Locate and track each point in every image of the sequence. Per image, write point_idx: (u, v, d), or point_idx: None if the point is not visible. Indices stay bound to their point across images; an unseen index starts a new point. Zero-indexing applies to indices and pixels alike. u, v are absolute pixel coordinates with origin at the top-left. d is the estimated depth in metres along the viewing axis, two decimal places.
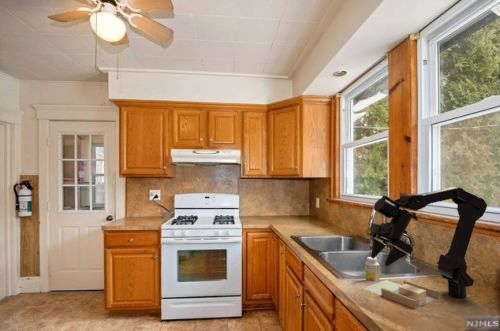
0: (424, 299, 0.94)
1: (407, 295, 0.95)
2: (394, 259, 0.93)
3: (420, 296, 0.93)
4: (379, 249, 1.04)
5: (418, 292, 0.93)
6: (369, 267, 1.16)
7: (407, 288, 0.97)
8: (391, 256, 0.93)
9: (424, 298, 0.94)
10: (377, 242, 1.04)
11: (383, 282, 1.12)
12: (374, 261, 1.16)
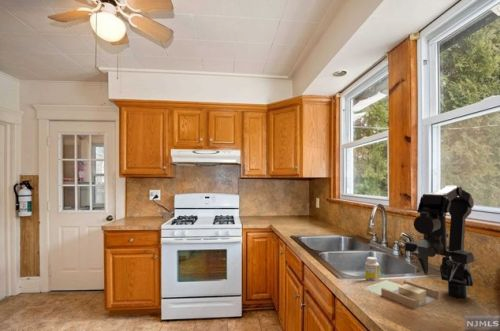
0: (424, 299, 0.94)
1: (407, 295, 0.95)
2: (454, 270, 0.86)
3: (420, 296, 0.93)
4: (426, 261, 0.94)
5: (418, 292, 0.93)
6: (369, 267, 1.16)
7: (407, 288, 0.97)
8: (452, 270, 0.85)
9: (424, 298, 0.94)
10: (423, 256, 0.93)
11: (383, 282, 1.12)
12: (374, 261, 1.16)
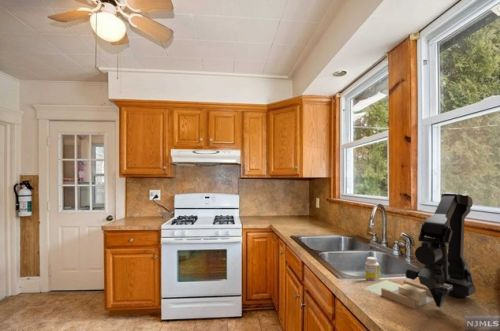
0: (424, 299, 0.94)
1: (407, 295, 0.95)
2: (444, 297, 0.89)
3: (420, 296, 0.93)
4: None
5: (418, 292, 0.93)
6: (369, 267, 1.16)
7: (407, 288, 0.97)
8: (442, 297, 0.88)
9: (424, 298, 0.94)
10: (434, 287, 0.90)
11: (383, 282, 1.12)
12: (374, 261, 1.16)
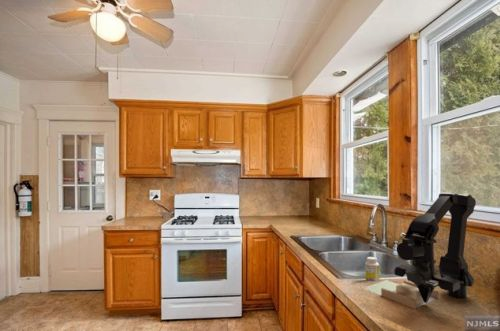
0: (421, 298, 0.95)
1: (405, 294, 0.96)
2: (430, 293, 0.92)
3: (417, 295, 0.93)
4: None
5: (415, 291, 0.94)
6: (369, 267, 1.16)
7: (405, 287, 0.97)
8: (428, 293, 0.91)
9: (421, 298, 0.95)
10: (422, 283, 0.93)
11: (383, 282, 1.12)
12: (374, 261, 1.16)
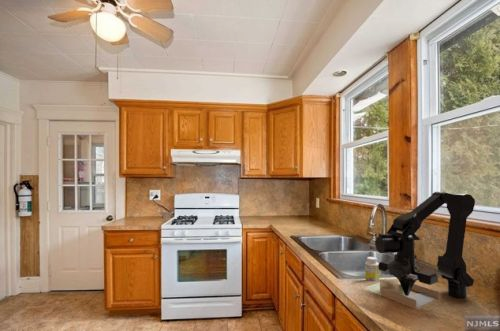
0: (403, 292, 1.00)
1: (388, 288, 1.01)
2: (411, 286, 0.97)
3: (399, 289, 0.99)
4: None
5: (397, 285, 0.99)
6: (369, 267, 1.16)
7: (388, 282, 1.03)
8: (409, 286, 0.97)
9: (403, 291, 1.00)
10: (403, 277, 0.98)
11: None
12: (374, 261, 1.16)
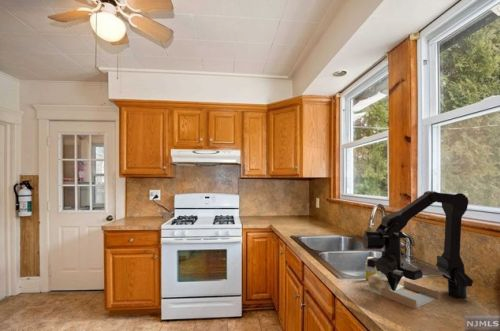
0: (390, 287, 1.04)
1: (375, 284, 1.06)
2: (398, 282, 1.02)
3: (386, 284, 1.03)
4: None
5: (385, 281, 1.03)
6: (369, 267, 1.16)
7: (376, 277, 1.07)
8: (395, 282, 1.01)
9: (390, 287, 1.04)
10: (390, 273, 1.03)
11: None
12: None
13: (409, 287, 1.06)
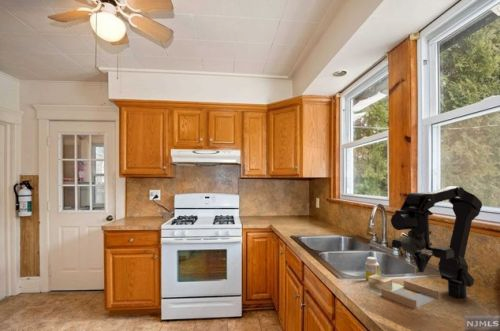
0: (390, 287, 1.04)
1: (375, 284, 1.06)
2: (426, 263, 0.95)
3: (386, 284, 1.03)
4: None
5: (385, 281, 1.03)
6: (369, 267, 1.16)
7: (376, 277, 1.07)
8: (424, 263, 0.94)
9: (390, 287, 1.04)
10: (417, 254, 0.96)
11: None
12: (374, 261, 1.16)
13: (409, 287, 1.06)
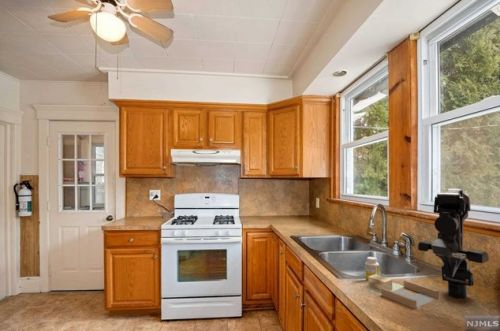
0: (390, 287, 1.04)
1: (375, 284, 1.06)
2: (457, 267, 0.90)
3: (386, 284, 1.03)
4: (451, 262, 0.92)
5: (385, 281, 1.03)
6: (369, 267, 1.16)
7: (376, 277, 1.07)
8: (455, 267, 0.89)
9: (390, 287, 1.04)
10: (447, 257, 0.91)
11: None
12: (374, 261, 1.16)
13: (409, 287, 1.06)
